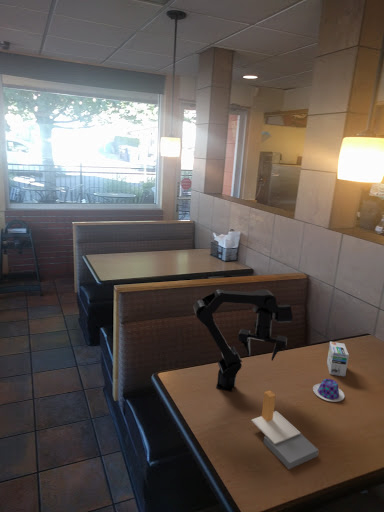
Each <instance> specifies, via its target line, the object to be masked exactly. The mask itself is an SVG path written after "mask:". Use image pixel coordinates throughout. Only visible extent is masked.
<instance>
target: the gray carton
mask: <svg viewBox="0 0 384 512" xmlns="http://www.w3.org/2000/svg"><path fill="white" fill-rule="evenodd" d="M262 441H263V444H264V445H265V446H266V447H267V448H268V449H269V451H271V453H272V454H273V455H274V456H276V458H277V459H278V460H279V461H280V462H281V463H282V464H283V465H284V466H285V467H286V469H288V470H290V469H293V468H295V467H297V466H300V465H302V464H304V463H306V462H308V461H311V460H313V459H314V458H317V457H318V455H319V449H318V448H317V446H315V445H314V444H313V443H312V442H311V441H309V439H307V438H306V437H305V436H304V435H303V434H302V433H301V434H299V435H297V436H294V437H292V438H290V439H287V440H285V441H282V442H280V443H277V444H275V445H274V443H273V442H272V441H271V440H270V439H269V438H268V437H267V436H266V435H265V436H263V440H262Z"/></svg>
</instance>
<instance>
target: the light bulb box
mask: <svg viewBox="0 0 384 512" xmlns="http://www.w3.org/2000/svg"><path fill="white" fill-rule="evenodd" d="M328 345H329V346H328V347H329V348H328V354H327V360H326V365H327V369H328V372H329V375H333V376H338V377H344V378H345V377H346V374H347V369H348V362H349V359H350V358H349V357H350V354H349V352H348V349H347V347H346V343H341V342H336V341H335V342H334V341H329V344H328Z"/></svg>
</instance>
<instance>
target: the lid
mask: <svg viewBox="0 0 384 512" xmlns="http://www.w3.org/2000/svg"><path fill="white" fill-rule="evenodd" d="M262 400H263V401H262V408H261V409H262V410H261V415H260V416H258V417H255V418H252V419H251V422H252V423H253V424H254V425H255V426H256V427H257V429H259V430H260V431H261V432H262V434H264V435H265V436H267V437H268V438H269V439H270V440H271V441H272V442H273V443H274V445H275V444H277V443H280V442H282V441H285V440H287V439H290V438H292V437H294V436H297V435H299V434H302V433H301V431H299V430H298V429H297V428H296V427H295V426H294V425H293V424H292V423H291V422H290V421H288V419H286V418H285V417H284V416H283V415H282V414H281V413H279V412H278V411H277V410H275V405H276V404H275V403H276V394H275V393H274V392H273V391H272V390H266V391H264V393H263V399H262Z"/></svg>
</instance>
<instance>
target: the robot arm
mask: <svg viewBox="0 0 384 512" xmlns="http://www.w3.org/2000/svg"><path fill="white" fill-rule="evenodd" d="M224 303H227V304H228V303H230V304H244V305H253V306H254V307H252V310H253V312H254V314H257V316H256V319H255V320H254V323H253V324H254V326H253V328H255V333H251V330H250V329H247V328H246V329H245V328H241V329H240V330H239V332H238V334H237V340H238V341H239V342H240V343H241V344H243V346H244V348H245V350H246V353H247V356H248V357H250V356H251V339H252V340H256V341H261V342H266V343H267V342H268V343H272V344H275V345H274V347H273V351H272V355H271V361H274V359H275V357H276V355H277V354H278V353H279V352H280V351H283V350H287V343H288V337H287V336H284V335H280V334H279V335H278V334H277V336H276V337H273V336H272V324H273V321H275V323H291V322H293V317H294V316H293V311H292V306H291V305H290V304H280V305H279V304H277V298H276V296H274V294H273V293H272V292H271V291H270V290H268V289H257V290H254V291H239V290H226V289H225V290H224V289H221V288H220V289H216V290H214V291H213V292H212V293H210V294H207V295H205V296H204V297H202V298H201V299H199V300H197V301H195V303H193V307H192V308H193V310H194V313H195V316H196V318H197V319H198V320H199V321H200V323H201V324H202V325H204V327H206V328H207V331H208V332H209V334H210V335H211V338H212V339H213V341H214V342H215V344H216V346H217V347H218V350H219V351H220V353H221V357H222V358H221V359H219V361H217V364H218V367H219V370H218V372H217V384H216V386H215V388H216V389H220V390H224V391H228V392H233V389H234V388H235V386H236V380H237V375H238V373H239V371H240V370H241V369H242V363H243V361H242V358H241V356H240V355H239V353H238V351H237V350H236V348H235V346H231V347H230V345H228V343H227V341H226V339H225V337H224V336H223V334H222V332H221V331H220V329H219V327H218V325H217V324H216V321H215V319H214V316H213V314H214V313H215V312H216V311H217V310H218V308H219V307H220V306H221V305H222V304H224ZM271 336H272V337H271Z"/></svg>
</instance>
